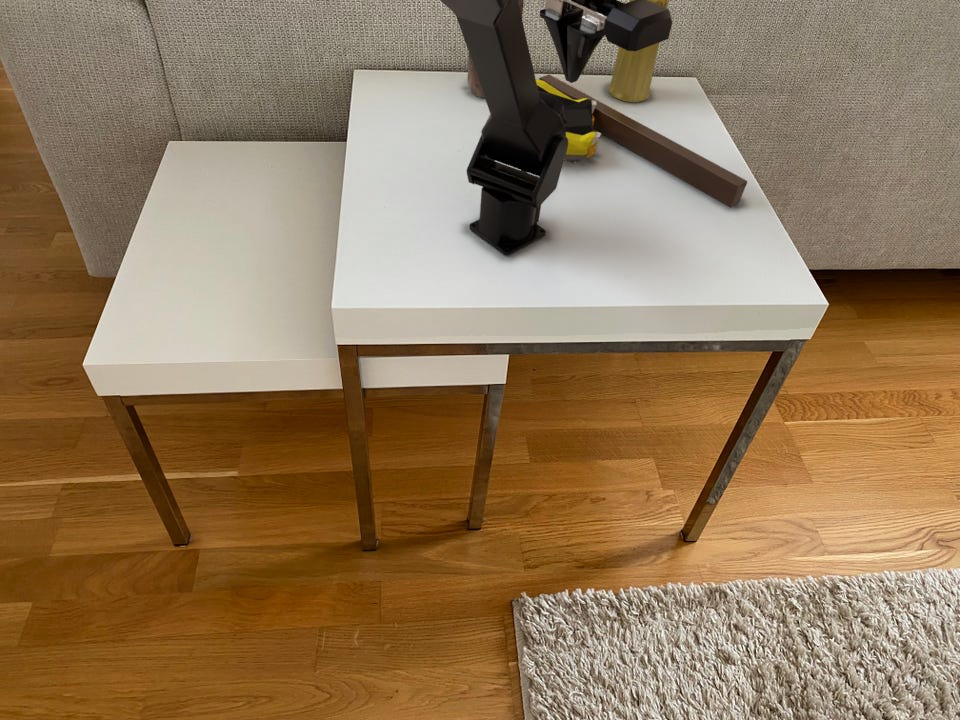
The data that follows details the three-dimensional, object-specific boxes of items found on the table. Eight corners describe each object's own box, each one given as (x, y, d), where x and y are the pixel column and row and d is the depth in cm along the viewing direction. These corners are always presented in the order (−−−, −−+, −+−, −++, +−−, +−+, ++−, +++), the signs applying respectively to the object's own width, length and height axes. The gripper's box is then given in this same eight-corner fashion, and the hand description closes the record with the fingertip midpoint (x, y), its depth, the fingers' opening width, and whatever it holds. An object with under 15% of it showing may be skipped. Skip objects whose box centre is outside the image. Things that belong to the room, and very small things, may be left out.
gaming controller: (519, 169, 90) (597, 175, 90) (524, 129, 85) (606, 135, 86) (519, 111, 100) (589, 116, 100) (523, 73, 96) (596, 78, 96)
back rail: (730, 207, 86) (738, 186, 84) (536, 97, 103) (539, 77, 101) (739, 201, 87) (747, 181, 85) (546, 93, 104) (549, 74, 102)
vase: (625, 79, 108) (647, -20, 98) (657, 95, 106) (683, -6, 95) (599, 90, 105) (619, -11, 95) (631, 107, 103) (655, 4, 92)
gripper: (726, -64, 67) (682, 94, 78) (582, -114, 76) (561, 34, 87) (652, -42, 61) (616, 123, 73) (506, -99, 70) (495, 57, 82)
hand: (571, 81), depth 79 cm, fingers closed
